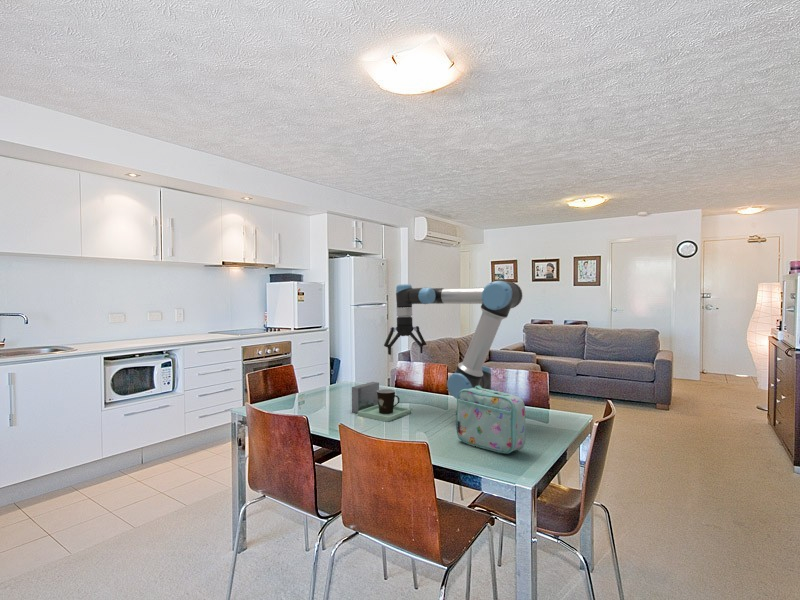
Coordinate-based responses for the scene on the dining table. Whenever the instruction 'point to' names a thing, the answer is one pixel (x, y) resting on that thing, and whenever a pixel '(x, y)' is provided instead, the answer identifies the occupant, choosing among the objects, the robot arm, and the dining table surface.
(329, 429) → the dining table surface
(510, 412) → the lunch box
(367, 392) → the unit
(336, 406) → the dining table surface
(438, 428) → the dining table surface
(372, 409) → the tray
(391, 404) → the coffee mug
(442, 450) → the dining table surface
